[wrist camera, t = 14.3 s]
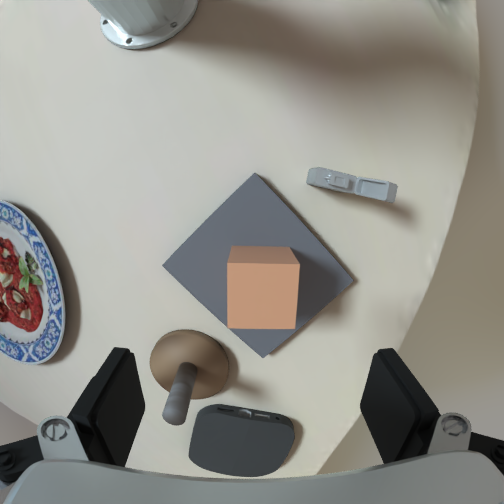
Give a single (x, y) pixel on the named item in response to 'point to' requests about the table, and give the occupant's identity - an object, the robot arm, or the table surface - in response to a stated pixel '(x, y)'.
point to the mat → (256, 234)
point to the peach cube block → (262, 287)
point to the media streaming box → (240, 440)
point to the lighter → (352, 184)
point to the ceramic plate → (28, 291)
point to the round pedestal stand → (187, 370)
